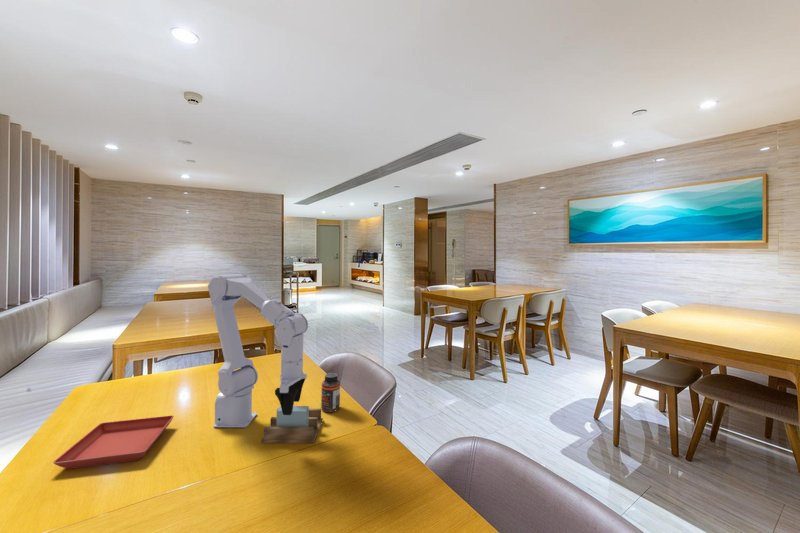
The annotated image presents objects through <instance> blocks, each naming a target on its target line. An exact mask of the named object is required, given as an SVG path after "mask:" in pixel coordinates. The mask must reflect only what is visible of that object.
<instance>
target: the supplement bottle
mask: <svg viewBox="0 0 800 533" xmlns="http://www.w3.org/2000/svg"><path fill="white" fill-rule="evenodd" d="M320 398H321V404H320V405H321V408H320V409H321V411H322V412H325V411H326V412H325V413H332V412H331V411H334V412H336V411H335V410H337V409H338V408H339V409H340V407H339V406H340V405H341V402H340V401H341V382H340V380H339V379H338V374H337V373H336V372H327V373H326V374H325V375H324V380H323V381H322V382H321V397H320ZM339 409H338V410H339ZM338 410H337V411H338Z"/></svg>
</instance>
